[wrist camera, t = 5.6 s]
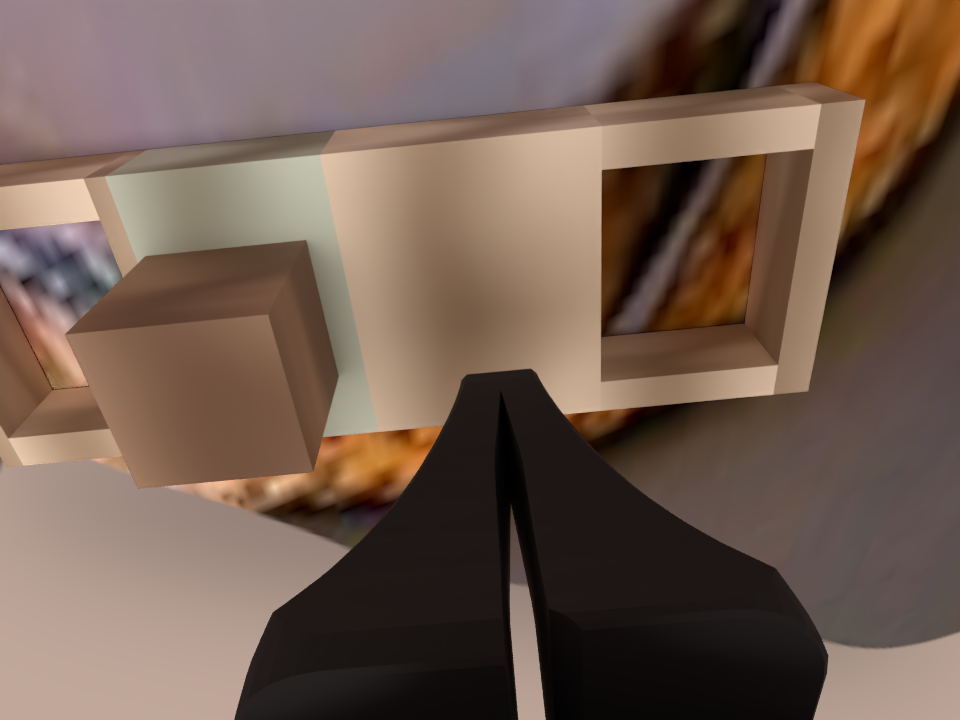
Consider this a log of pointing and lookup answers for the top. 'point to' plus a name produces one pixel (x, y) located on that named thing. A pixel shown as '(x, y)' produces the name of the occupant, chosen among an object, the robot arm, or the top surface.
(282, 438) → the walnut block
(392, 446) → the top surface
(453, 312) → the frame
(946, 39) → the top surface
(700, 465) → the top surface
